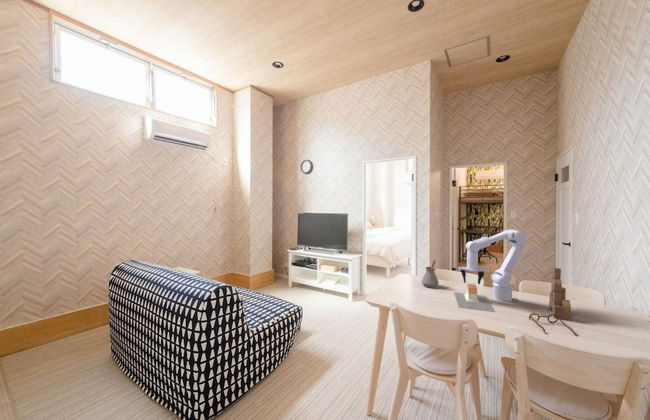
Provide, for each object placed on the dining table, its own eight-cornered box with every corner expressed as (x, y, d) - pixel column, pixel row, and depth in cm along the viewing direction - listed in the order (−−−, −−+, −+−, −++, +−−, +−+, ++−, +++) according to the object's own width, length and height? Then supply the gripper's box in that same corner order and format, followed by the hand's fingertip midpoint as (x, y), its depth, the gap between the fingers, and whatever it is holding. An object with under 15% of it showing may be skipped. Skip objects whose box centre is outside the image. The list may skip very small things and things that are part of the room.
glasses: (556, 323, 133) (557, 313, 132) (577, 337, 120) (578, 326, 120) (528, 321, 135) (528, 312, 135) (545, 335, 122) (545, 325, 122)
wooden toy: (571, 321, 134) (573, 273, 132) (554, 318, 137) (556, 271, 135) (564, 309, 147) (566, 265, 145) (548, 307, 150) (550, 264, 149)
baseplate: (485, 297, 165) (485, 295, 165) (495, 314, 142) (495, 312, 142) (453, 293, 171) (453, 292, 171) (458, 309, 149) (459, 307, 149)
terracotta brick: (474, 289, 164) (474, 283, 164) (477, 294, 157) (477, 287, 157) (466, 288, 166) (466, 282, 166) (468, 293, 158) (468, 287, 158)
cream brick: (474, 295, 165) (474, 289, 165) (476, 300, 157) (476, 294, 157) (466, 295, 166) (466, 288, 166) (468, 299, 159) (468, 293, 159)
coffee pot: (436, 289, 179) (437, 268, 178) (419, 286, 185) (419, 265, 184) (442, 281, 196) (442, 261, 195) (426, 278, 203) (426, 259, 202)
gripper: (459, 261, 159) (459, 283, 160) (487, 263, 154) (486, 286, 155) (458, 259, 166) (457, 280, 167) (484, 260, 161) (484, 282, 162)
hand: (471, 283), depth 161 cm, fingers open, 7 cm apart
